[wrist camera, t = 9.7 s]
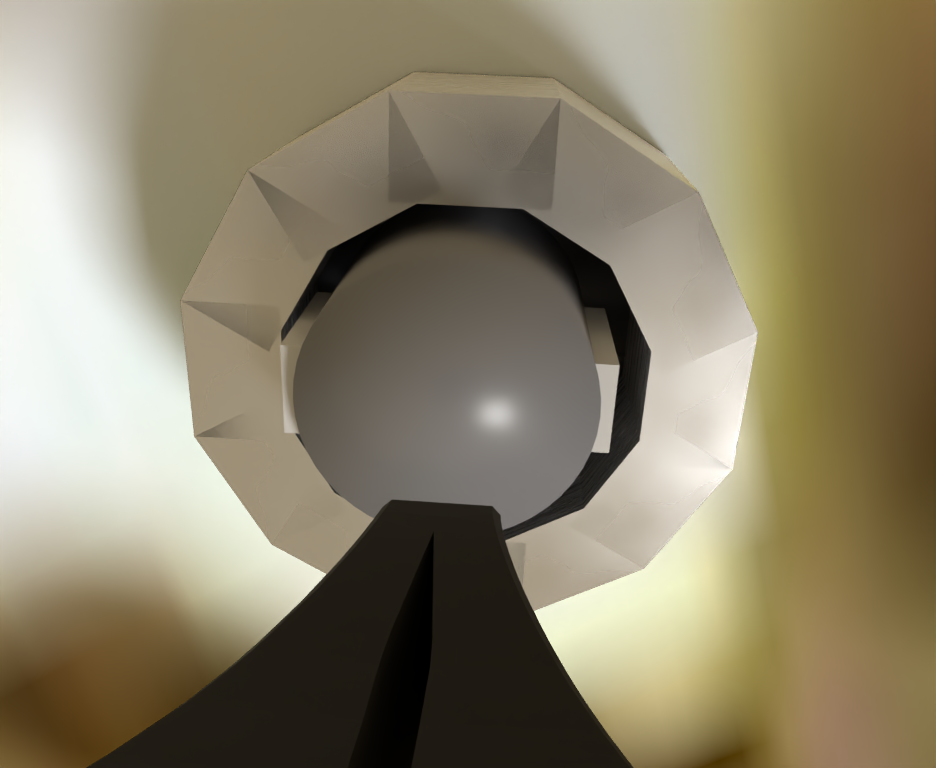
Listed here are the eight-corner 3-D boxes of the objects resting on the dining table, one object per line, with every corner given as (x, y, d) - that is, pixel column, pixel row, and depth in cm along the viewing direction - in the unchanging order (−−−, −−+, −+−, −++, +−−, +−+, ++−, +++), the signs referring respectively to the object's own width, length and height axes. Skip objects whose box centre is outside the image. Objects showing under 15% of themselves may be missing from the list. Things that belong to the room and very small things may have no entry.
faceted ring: (746, 87, 17) (799, 109, 13) (674, 530, 21) (703, 628, 18) (226, 63, 17) (158, 79, 14) (257, 503, 21) (210, 595, 18)
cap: (607, 202, 17) (634, 268, 13) (583, 430, 19) (600, 548, 15) (329, 188, 17) (269, 247, 13) (334, 414, 19) (285, 526, 15)
